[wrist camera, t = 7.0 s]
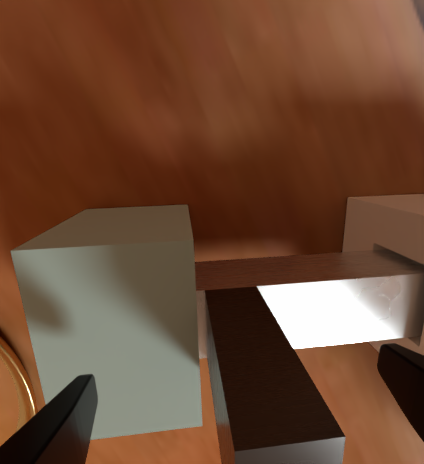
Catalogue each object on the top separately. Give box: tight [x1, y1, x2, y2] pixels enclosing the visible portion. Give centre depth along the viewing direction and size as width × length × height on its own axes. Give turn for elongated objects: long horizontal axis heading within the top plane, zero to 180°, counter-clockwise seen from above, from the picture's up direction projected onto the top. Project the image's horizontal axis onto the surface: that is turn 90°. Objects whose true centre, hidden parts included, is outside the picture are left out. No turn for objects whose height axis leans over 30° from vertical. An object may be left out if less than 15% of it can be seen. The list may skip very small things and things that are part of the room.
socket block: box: [11, 205, 202, 440], centre depth 13 cm, size 6×8×7 cm
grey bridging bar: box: [195, 249, 424, 464], centre depth 10 cm, size 15×3×9 cm, turn 91°
